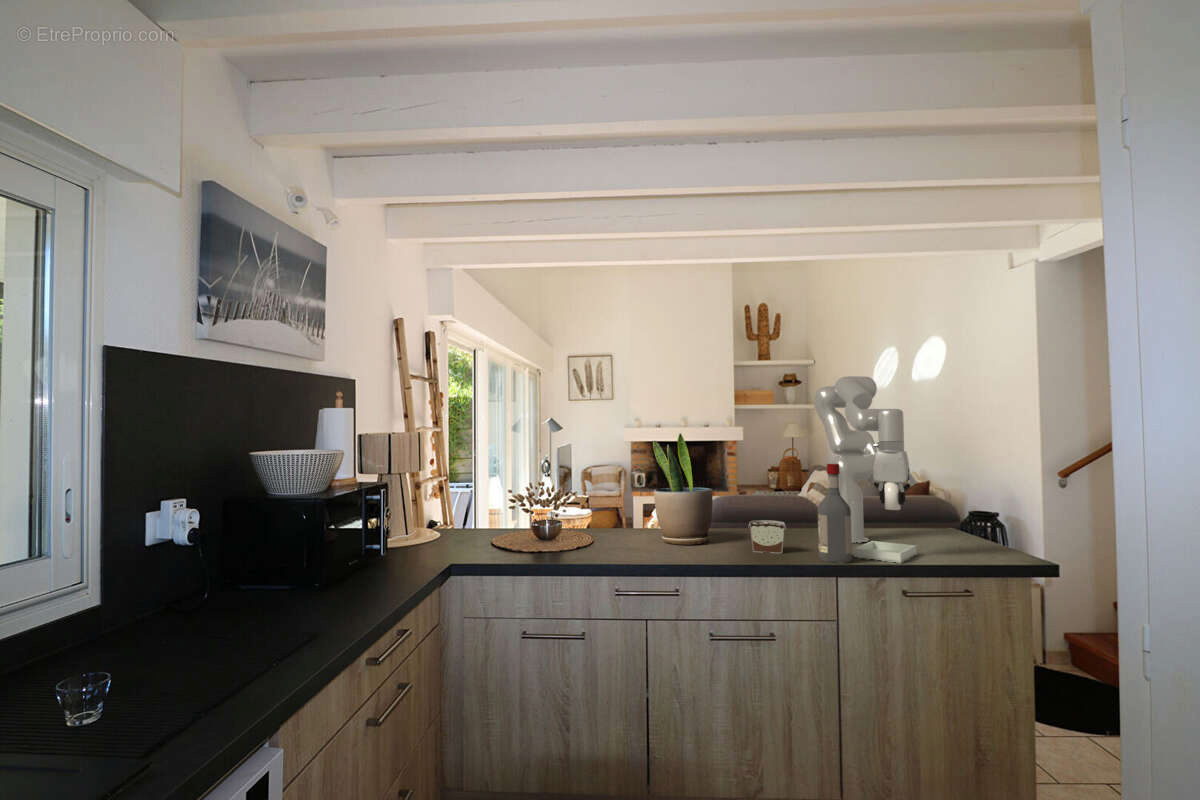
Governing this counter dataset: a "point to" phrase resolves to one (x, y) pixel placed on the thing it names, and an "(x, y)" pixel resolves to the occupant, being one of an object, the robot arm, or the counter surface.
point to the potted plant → (681, 500)
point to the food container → (767, 535)
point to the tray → (885, 551)
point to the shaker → (891, 496)
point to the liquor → (834, 522)
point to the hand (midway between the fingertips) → (892, 503)
